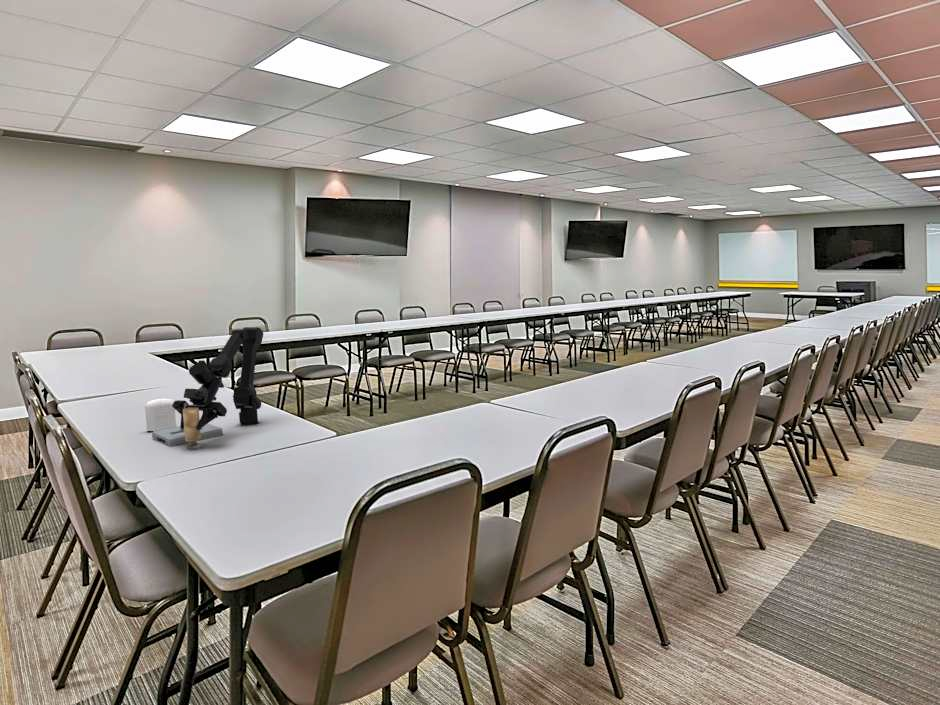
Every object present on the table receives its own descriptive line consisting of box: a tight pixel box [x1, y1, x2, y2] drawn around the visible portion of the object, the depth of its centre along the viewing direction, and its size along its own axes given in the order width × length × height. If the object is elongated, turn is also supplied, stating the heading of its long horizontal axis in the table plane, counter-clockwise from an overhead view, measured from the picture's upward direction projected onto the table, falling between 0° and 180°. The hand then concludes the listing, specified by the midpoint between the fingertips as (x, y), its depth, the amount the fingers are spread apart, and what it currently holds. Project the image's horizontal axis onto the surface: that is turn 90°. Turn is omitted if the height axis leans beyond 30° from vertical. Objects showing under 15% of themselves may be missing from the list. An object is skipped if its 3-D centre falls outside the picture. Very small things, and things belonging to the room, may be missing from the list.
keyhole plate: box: [151, 423, 224, 447], centre depth 217 cm, size 19×16×2 cm
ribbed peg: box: [183, 407, 202, 450], centre depth 202 cm, size 5×5×14 cm
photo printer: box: [144, 398, 177, 432], centre depth 227 cm, size 10×4×12 cm, turn 123°
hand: (189, 429), depth 201 cm, fingers open, 6 cm apart
